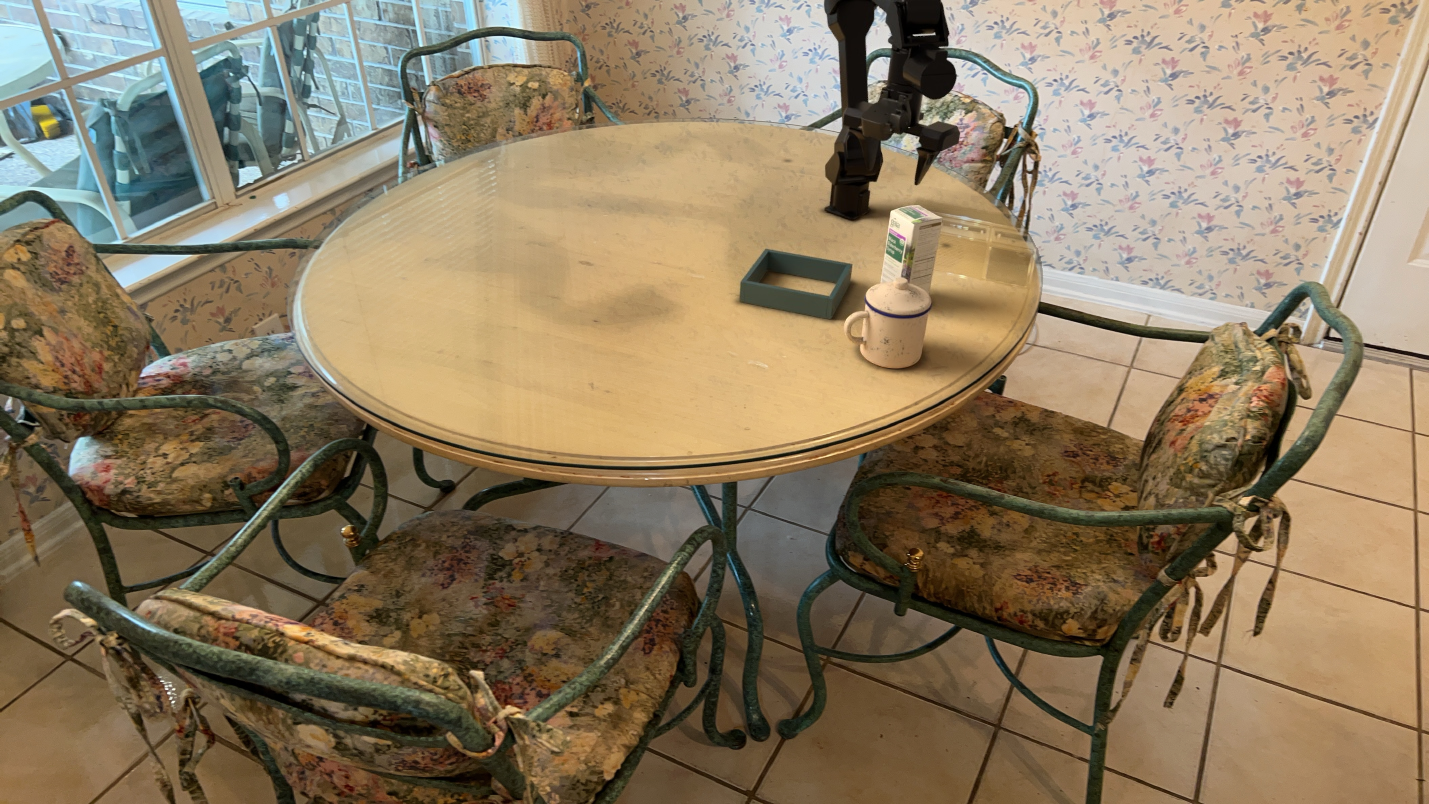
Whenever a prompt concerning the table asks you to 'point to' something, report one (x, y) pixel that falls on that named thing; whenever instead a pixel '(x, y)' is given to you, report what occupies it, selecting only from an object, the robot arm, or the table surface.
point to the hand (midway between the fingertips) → (892, 177)
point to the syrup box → (911, 246)
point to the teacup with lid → (892, 323)
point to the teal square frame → (789, 297)
